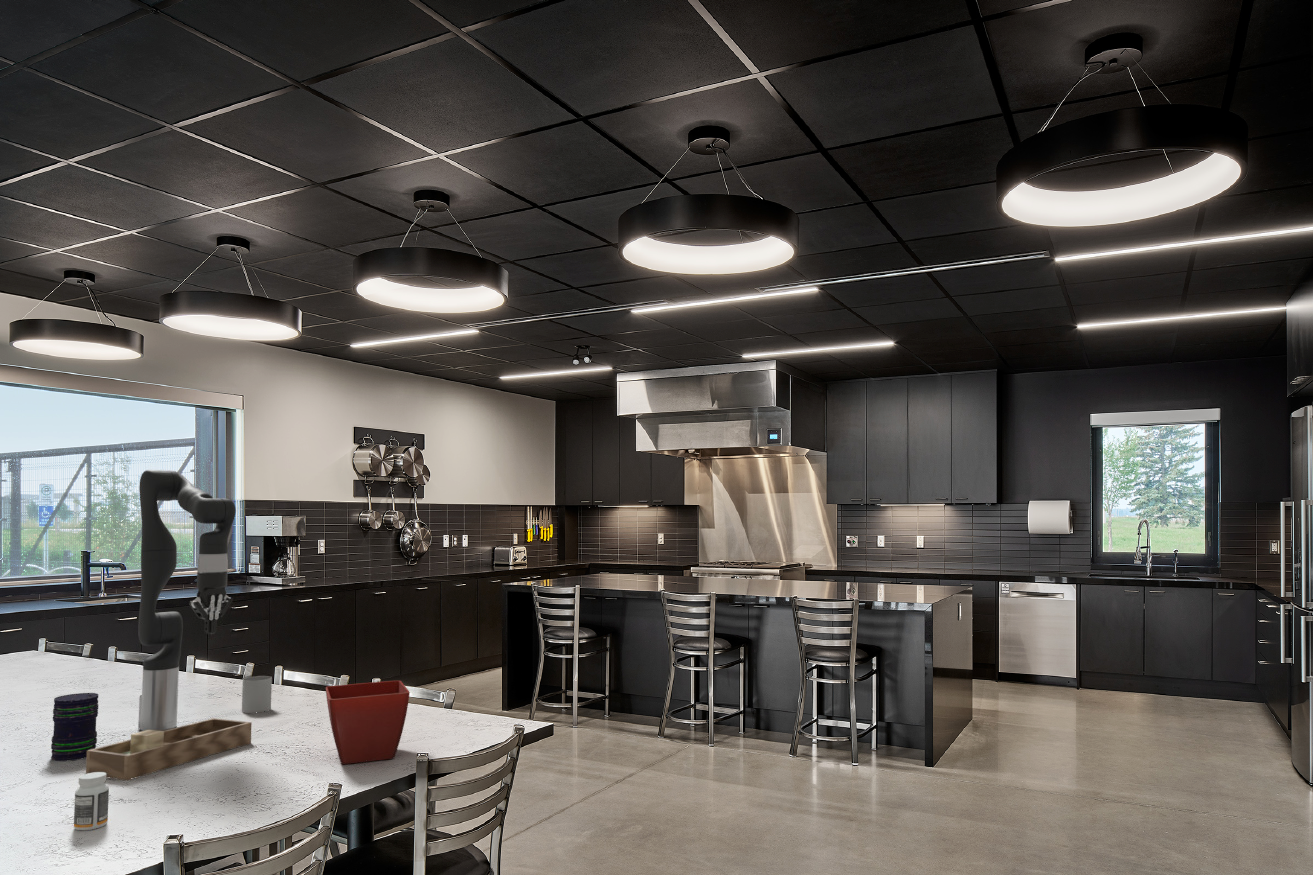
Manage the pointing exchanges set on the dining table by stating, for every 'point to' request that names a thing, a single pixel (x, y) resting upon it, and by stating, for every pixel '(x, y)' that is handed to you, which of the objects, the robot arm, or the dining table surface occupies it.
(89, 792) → the pill bottle
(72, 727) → the storage jar
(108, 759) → the long open wooden box
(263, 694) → the cup
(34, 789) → the dining table surface
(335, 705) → the plant pot
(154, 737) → the maple block
